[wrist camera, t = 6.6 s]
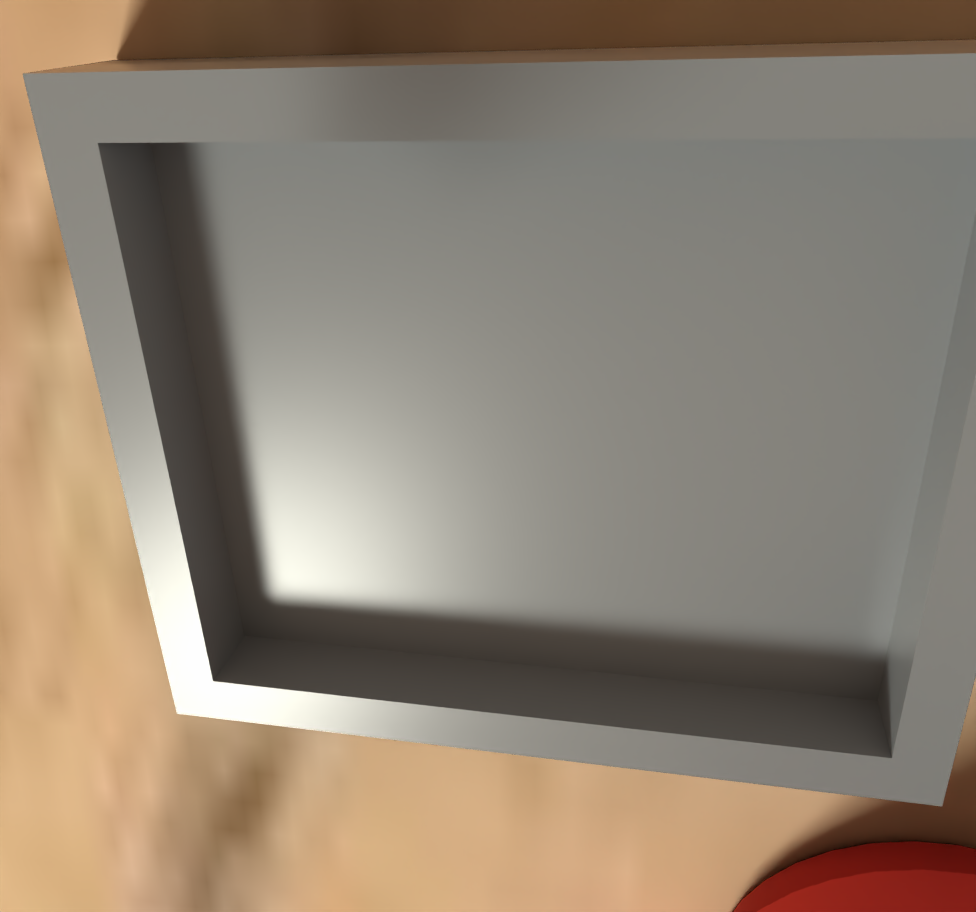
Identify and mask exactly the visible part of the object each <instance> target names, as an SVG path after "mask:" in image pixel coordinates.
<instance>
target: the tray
mask: <svg viewBox="0 0 976 912" xmlns="http://www.w3.org/2000/svg"><path fill="white" fill-rule="evenodd" d="M23 77H24V82H25V86H26V90H27V94H28V98H29V102H30V106H31V111H32V115H33V119H34V123H35V127H36V131H37V135H38V140H39V144H40V148H41V152H42V156H43V160H44V164H45V169H46V173H47V177H48V181H49V185H50V189H51V193H52V198H53V202H54V206H55V210H56V214H57V218H58V222H59V227H60V231H61V235H62V239H63V243H64V247H65V251H66V256H67V260H68V264H69V268H70V272H71V276H72V280H73V285H74V289H75V293H76V297H77V301H78V305H79V309H80V314H81V318H82V322H83V326H84V330H85V334H86V338H87V343H88V347H89V351H90V355H91V359H92V363H93V368H94V372H95V376H96V380H97V384H98V388H99V392H100V397H101V401H102V405H103V409H104V413H105V417H106V421H107V426H108V430H109V434H110V438H111V442H112V446H113V450H114V455H115V459H116V463H117V467H118V471H119V475H120V479H121V484H122V488H123V492H124V496H125V500H126V504H127V508H128V513H129V517H130V521H131V525H132V529H133V533H134V537H135V542H136V546H137V550H138V554H139V558H140V562H141V566H142V571H143V575H144V579H145V583H146V587H147V591H148V595H149V600H150V604H151V608H152V612H153V616H154V620H155V624H156V629H157V633H158V637H159V641H160V645H161V649H162V653H163V658H164V662H165V666H166V670H167V674H168V678H169V682H170V687H171V691H172V695H173V699H174V703H175V707H176V711H177V714H185V715H194V716H202V717H210V718H218V719H226V720H235V721H243V722H251V723H259V724H268V725H276V726H284V727H292V728H301V729H309V730H317V731H325V732H333V733H342V734H350V735H358V736H366V737H375V738H383V739H391V740H399V741H407V742H416V743H424V744H432V745H440V746H449V747H457V748H465V749H473V750H482V751H490V752H498V753H506V754H514V755H523V756H531V757H539V758H547V759H556V760H564V761H572V762H580V763H588V764H597V765H605V766H613V767H621V768H630V769H638V770H646V771H654V772H663V773H671V774H679V775H687V776H695V777H704V778H712V779H720V780H728V781H737V782H745V783H753V784H761V785H769V786H778V787H786V788H794V789H802V790H811V791H819V792H827V793H835V794H844V795H852V796H860V797H868V798H876V799H885V800H893V801H901V802H909V803H918V804H926V805H934V806H942V805H943V801H944V797H945V793H946V789H947V786H948V782H949V778H950V774H951V770H952V766H953V762H954V758H955V754H956V751H957V747H958V743H959V739H960V735H961V731H962V727H963V723H964V719H965V716H966V712H967V708H968V704H969V700H970V696H971V692H972V688H973V685H974V681H975V677H976V39H972V40H930V41H888V42H847V43H805V44H763V45H722V46H680V47H639V48H597V49H555V50H514V51H472V52H430V53H389V54H347V55H306V56H264V57H222V58H181V59H139V60H111V61H104V62H98V63H91V64H84V65H77V66H71V67H64V68H57V69H50V70H43V71H37V72H30V73H23Z"/></svg>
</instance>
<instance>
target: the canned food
mask: <svg viewBox="0 0 976 912" xmlns="http://www.w3.org/2000/svg"><path fill="white" fill-rule="evenodd" d="M733 912H976V849H973V848H968V847H964V846H960V845H951V844H940V843H928V842H917V841H909V842H888V843H870V844H865V845H859V846H854V847H849V848H844V849H838V850H833V851H829V852H826V853H823V854H821V855H818V856H815V857H812V858H809V859H806V860H803V861H801V862H798V863H795V864H793V865H791V866H790V867H788V868H786V869H784V870H782V871H781V872H779V873H777V874H775V875H773V876H772V877H770V878H768V879H766V880H765V881H763V882H762V883H761V884H760V885H759V886H758V887H756V888H755V889H754V890H753V891H752V892H750V893H749V894H748V895H747V896H746V897H745V898H743V899H742V900H741V902H740V903H739V904H738V906H737V907H736V908H735V910H734V911H733Z"/></svg>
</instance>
